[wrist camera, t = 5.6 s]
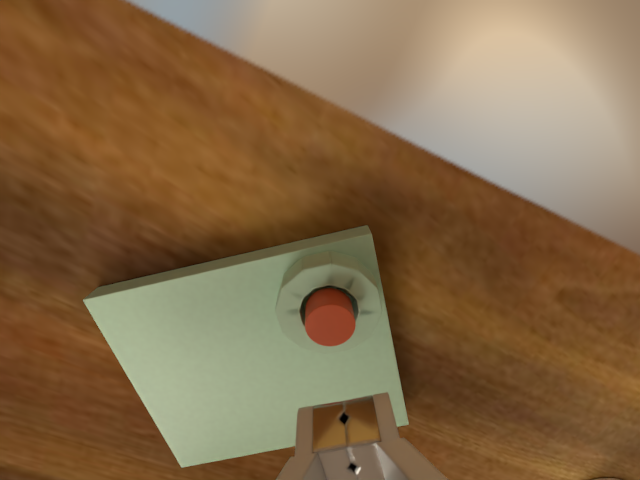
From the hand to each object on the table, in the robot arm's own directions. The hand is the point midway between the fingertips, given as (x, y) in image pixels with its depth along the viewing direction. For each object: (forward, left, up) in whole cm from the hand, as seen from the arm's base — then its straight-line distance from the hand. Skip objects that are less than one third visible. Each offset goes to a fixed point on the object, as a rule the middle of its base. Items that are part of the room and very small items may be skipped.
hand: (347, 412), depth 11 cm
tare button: (0, 0, -7) cm, 7 cm away
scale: (+5, +4, -9) cm, 12 cm away
